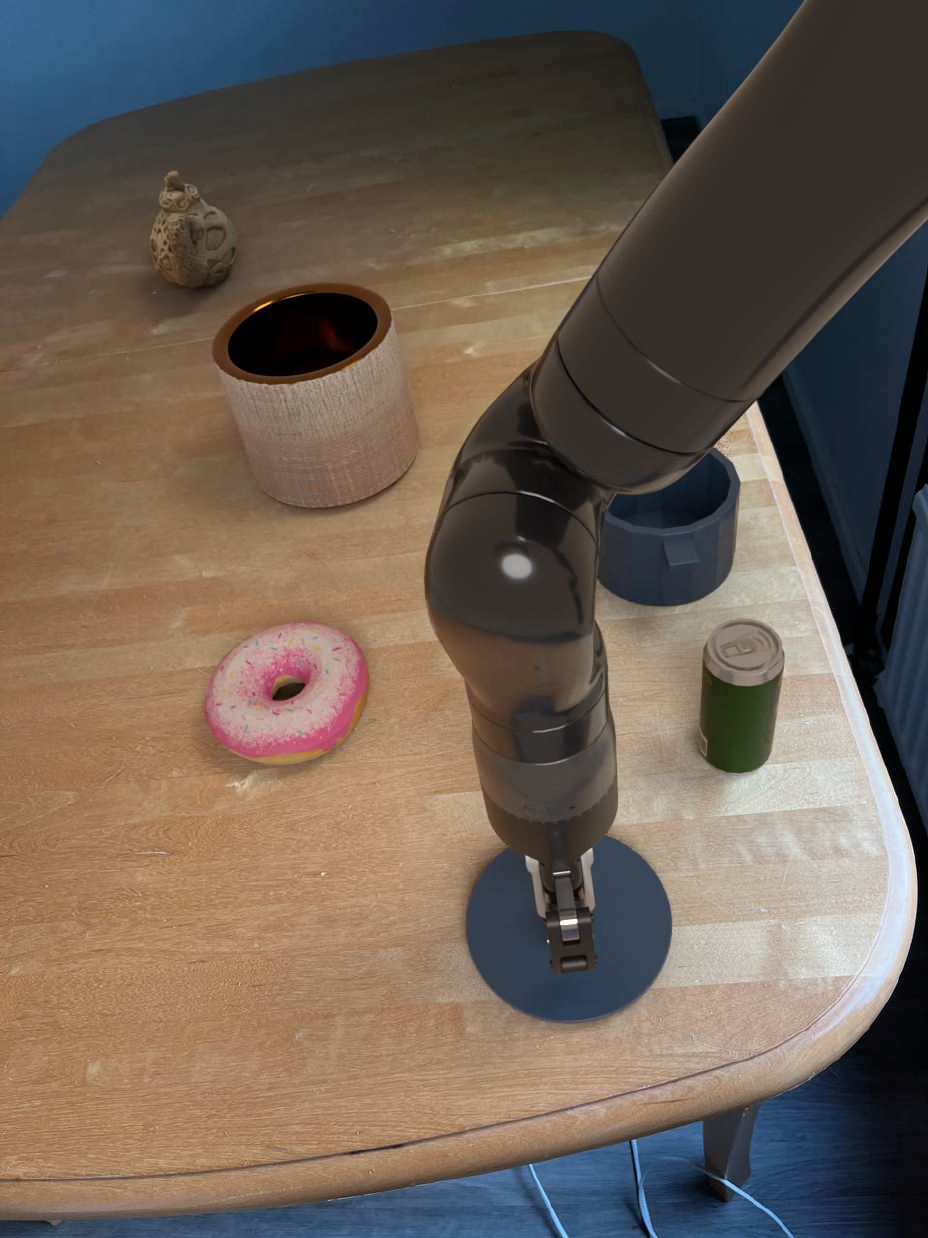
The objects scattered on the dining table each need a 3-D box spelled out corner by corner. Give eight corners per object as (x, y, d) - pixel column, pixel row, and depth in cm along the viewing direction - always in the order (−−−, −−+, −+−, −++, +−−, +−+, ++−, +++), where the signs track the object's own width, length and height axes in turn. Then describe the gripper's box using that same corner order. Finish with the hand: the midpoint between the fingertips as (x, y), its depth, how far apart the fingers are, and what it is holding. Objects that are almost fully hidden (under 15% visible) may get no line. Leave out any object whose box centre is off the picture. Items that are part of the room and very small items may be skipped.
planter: (424, 401, 113) (399, 270, 101) (416, 507, 101) (386, 373, 89) (269, 416, 115) (227, 290, 103) (242, 523, 103) (192, 393, 91)
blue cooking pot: (708, 481, 98) (712, 408, 92) (757, 618, 85) (765, 544, 79) (577, 500, 98) (572, 429, 92) (607, 639, 86) (604, 567, 80)
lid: (650, 824, 74) (650, 777, 69) (692, 1014, 64) (695, 974, 60) (461, 849, 74) (449, 804, 70) (475, 1040, 65) (462, 1002, 61)
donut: (209, 788, 81) (188, 752, 78) (223, 661, 90) (205, 623, 87) (376, 763, 81) (363, 726, 77) (372, 638, 90) (361, 599, 86)
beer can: (715, 788, 75) (724, 686, 66) (686, 732, 79) (690, 628, 70) (784, 766, 75) (801, 662, 67) (751, 712, 79) (763, 606, 70)
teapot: (162, 257, 145) (122, 150, 134) (241, 238, 146) (208, 130, 135) (167, 333, 131) (122, 220, 120) (255, 311, 131) (219, 197, 120)
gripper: (639, 867, 50) (641, 1000, 62) (595, 649, 60) (604, 799, 71) (487, 886, 50) (518, 1014, 62) (468, 666, 60) (497, 813, 72)
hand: (564, 899), depth 67 cm, fingers open, 8 cm apart
